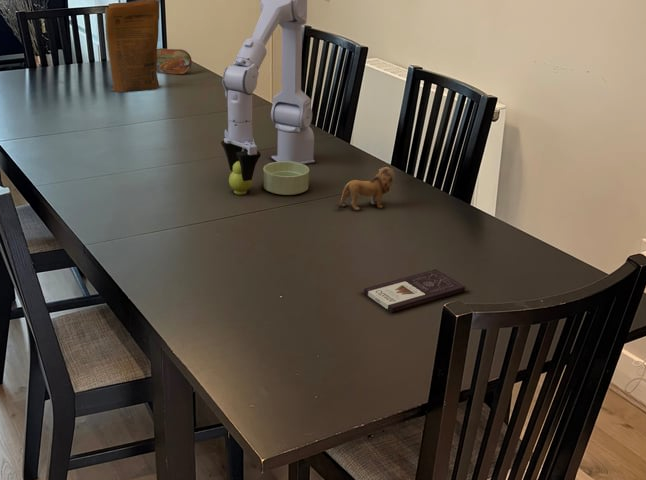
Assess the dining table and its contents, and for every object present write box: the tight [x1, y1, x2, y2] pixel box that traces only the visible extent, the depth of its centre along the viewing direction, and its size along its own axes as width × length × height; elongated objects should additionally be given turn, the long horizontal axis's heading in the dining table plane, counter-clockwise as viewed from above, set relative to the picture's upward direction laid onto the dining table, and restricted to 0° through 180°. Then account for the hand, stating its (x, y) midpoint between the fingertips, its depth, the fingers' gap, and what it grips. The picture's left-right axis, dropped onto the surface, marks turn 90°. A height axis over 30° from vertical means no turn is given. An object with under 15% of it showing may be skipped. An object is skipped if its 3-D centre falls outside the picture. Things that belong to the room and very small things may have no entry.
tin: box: [157, 47, 193, 75], centre depth 300 cm, size 15×3×8 cm, turn 81°
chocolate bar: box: [363, 269, 466, 313], centre depth 162 cm, size 9×1×18 cm
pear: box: [228, 161, 253, 195], centre depth 202 cm, size 6×6×9 cm
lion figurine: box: [336, 166, 395, 211], centre depth 197 cm, size 15×5×9 cm, turn 116°
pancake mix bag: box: [104, 0, 160, 93], centre depth 274 cm, size 7×19×28 cm, turn 118°
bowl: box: [262, 161, 311, 196], centre depth 207 cm, size 11×11×5 cm
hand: (240, 175), depth 203 cm, fingers open, 7 cm apart
